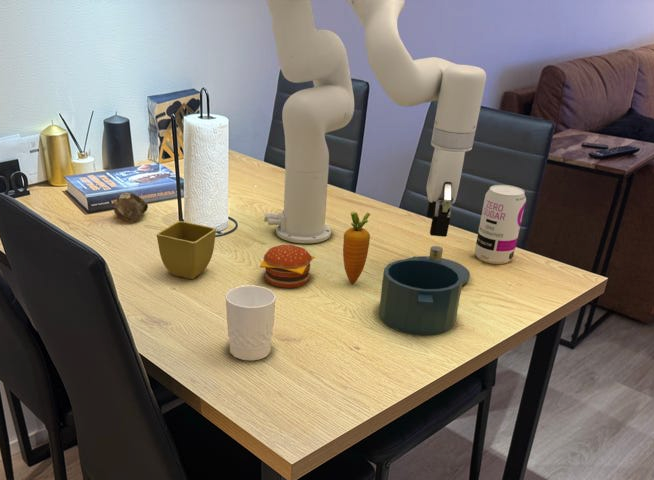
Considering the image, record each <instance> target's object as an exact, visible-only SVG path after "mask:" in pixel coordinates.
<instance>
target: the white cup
mask: <svg viewBox="0 0 654 480" xmlns="http://www.w3.org/2000/svg"><path fill="white" fill-rule="evenodd" d="M276 299H277V296H276V293H275V292H274V291H273V290H271V289H269V288H268V287H264V286H258V285H248V284H247V285H239V286H236V287H233V288H231V289H229V290H228V291H227V292H226V293H225V309H226V323H227V337H228V341H229V353H230V354H231V355H232V356H233V357H234V358H237V359H239V360H242V361H250V362H252V361H259V360H262V359H264V358H267V357H268V355H269V354H270V353H271V348H272V338H273V333H274V323H275V310H276Z"/></svg>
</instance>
